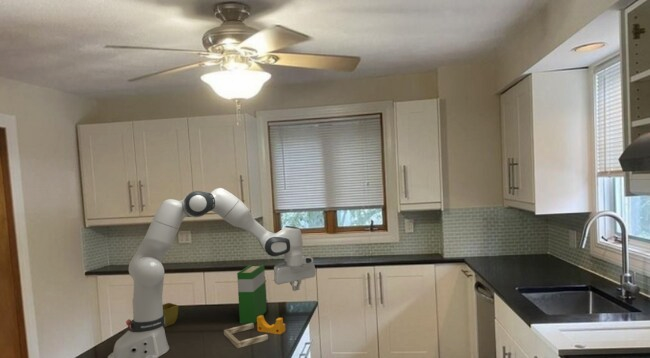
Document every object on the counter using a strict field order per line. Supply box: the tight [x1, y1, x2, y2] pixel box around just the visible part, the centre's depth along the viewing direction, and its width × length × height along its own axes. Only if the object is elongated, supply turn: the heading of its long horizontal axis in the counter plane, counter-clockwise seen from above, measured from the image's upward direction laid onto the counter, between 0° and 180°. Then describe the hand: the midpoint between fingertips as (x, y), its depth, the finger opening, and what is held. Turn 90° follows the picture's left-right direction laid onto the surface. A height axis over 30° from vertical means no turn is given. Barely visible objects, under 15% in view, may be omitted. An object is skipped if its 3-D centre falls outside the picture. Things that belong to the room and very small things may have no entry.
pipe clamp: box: [256, 315, 286, 335], centre depth 177 cm, size 12×4×6 cm, turn 65°
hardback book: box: [236, 264, 268, 325], centre depth 197 cm, size 18×7×24 cm, turn 170°
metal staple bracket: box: [223, 323, 269, 349], centre depth 172 cm, size 14×18×2 cm
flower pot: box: [163, 302, 179, 328], centre depth 192 cm, size 9×9×9 cm
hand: (296, 290), depth 185 cm, fingers closed
